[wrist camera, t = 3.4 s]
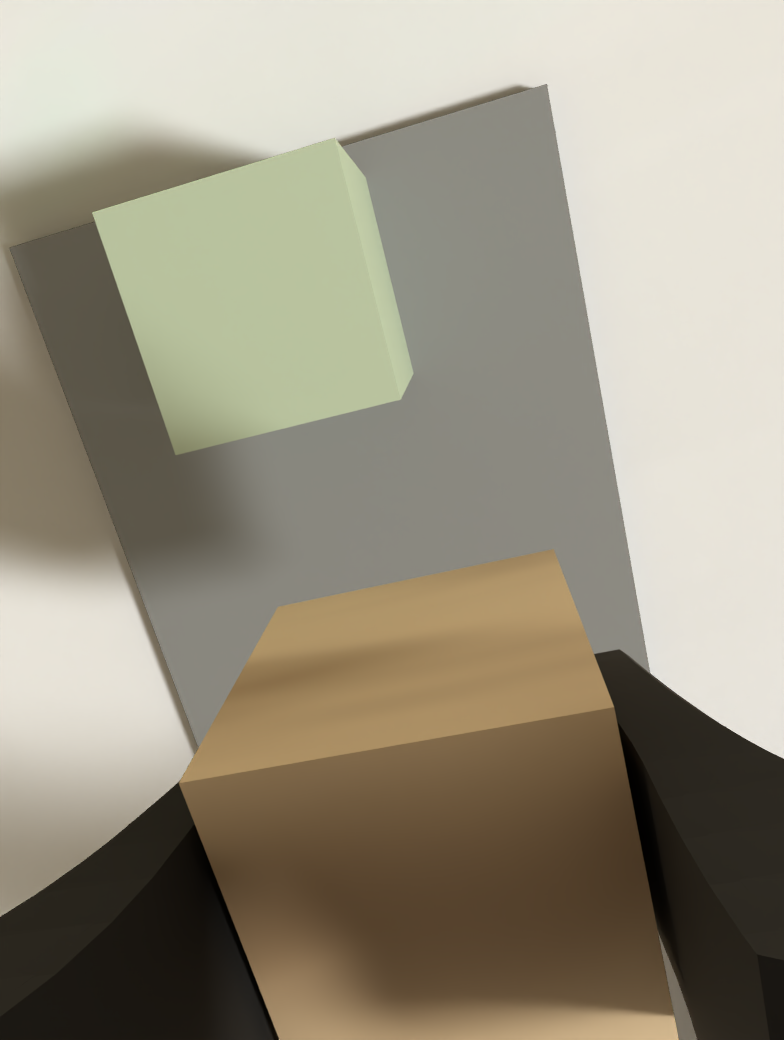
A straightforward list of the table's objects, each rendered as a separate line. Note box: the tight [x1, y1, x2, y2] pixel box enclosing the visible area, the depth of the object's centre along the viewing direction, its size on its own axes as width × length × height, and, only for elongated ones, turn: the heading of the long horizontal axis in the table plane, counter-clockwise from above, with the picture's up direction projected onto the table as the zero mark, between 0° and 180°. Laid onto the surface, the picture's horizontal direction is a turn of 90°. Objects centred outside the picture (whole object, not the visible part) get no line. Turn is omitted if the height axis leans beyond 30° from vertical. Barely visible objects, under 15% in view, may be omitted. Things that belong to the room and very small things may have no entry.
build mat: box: [10, 84, 650, 748], centre depth 20 cm, size 22×13×1 cm, turn 14°
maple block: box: [179, 549, 679, 1040], centre depth 10 cm, size 4×4×4 cm
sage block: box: [92, 138, 414, 455], centre depth 15 cm, size 4×4×4 cm
